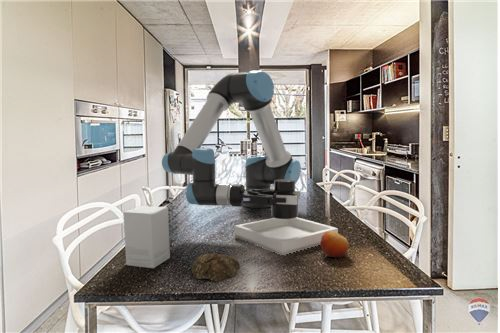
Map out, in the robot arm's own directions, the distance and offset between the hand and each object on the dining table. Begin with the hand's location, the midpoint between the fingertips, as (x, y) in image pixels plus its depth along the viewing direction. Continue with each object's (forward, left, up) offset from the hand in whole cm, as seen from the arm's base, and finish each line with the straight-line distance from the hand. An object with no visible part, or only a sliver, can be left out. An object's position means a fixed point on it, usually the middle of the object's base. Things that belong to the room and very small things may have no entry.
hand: (298, 197), depth 124 cm
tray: (+3, -4, -14) cm, 15 cm away
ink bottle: (+3, -4, -7) cm, 8 cm away
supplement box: (+47, -12, -14) cm, 50 cm away
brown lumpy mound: (+36, +6, -15) cm, 39 cm away
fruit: (+3, +17, -14) cm, 23 cm away
